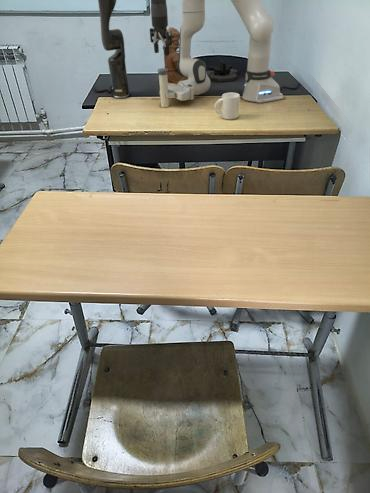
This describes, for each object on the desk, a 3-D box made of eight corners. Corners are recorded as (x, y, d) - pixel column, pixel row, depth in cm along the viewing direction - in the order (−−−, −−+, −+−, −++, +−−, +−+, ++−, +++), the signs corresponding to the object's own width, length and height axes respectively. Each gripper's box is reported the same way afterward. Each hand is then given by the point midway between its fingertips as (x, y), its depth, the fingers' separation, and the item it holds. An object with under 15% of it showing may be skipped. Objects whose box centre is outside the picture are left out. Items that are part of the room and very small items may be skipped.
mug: (215, 121, 173) (216, 99, 166) (212, 114, 179) (213, 93, 173) (240, 119, 174) (241, 97, 167) (235, 113, 180) (237, 91, 174)
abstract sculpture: (205, 66, 215) (198, 59, 231) (204, 82, 221) (198, 74, 236) (245, 63, 218) (236, 56, 233) (243, 79, 224) (235, 71, 239)
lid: (165, 71, 184) (164, 67, 183) (169, 74, 181) (169, 69, 179) (156, 73, 182) (156, 69, 181) (160, 75, 179) (160, 71, 178)
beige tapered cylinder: (166, 104, 194) (164, 68, 183) (170, 106, 191) (168, 70, 180) (159, 105, 193) (157, 70, 181) (163, 107, 190) (161, 72, 178)
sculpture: (197, 88, 213) (196, 30, 194) (156, 89, 214) (152, 31, 194) (196, 75, 234) (196, 22, 215) (159, 76, 235) (156, 23, 215)
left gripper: (143, 14, 167) (147, 53, 178) (162, 17, 159) (165, 57, 170) (156, 12, 171) (158, 50, 182) (175, 15, 163) (177, 55, 173)
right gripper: (173, 79, 198) (152, 83, 192) (195, 87, 185) (173, 93, 179) (173, 90, 202) (153, 96, 196) (195, 100, 189) (174, 105, 183)
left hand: (161, 54), depth 176 cm, fingers open, 7 cm apart
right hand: (162, 94), depth 188 cm, fingers closed on beige tapered cylinder, 4 cm apart
